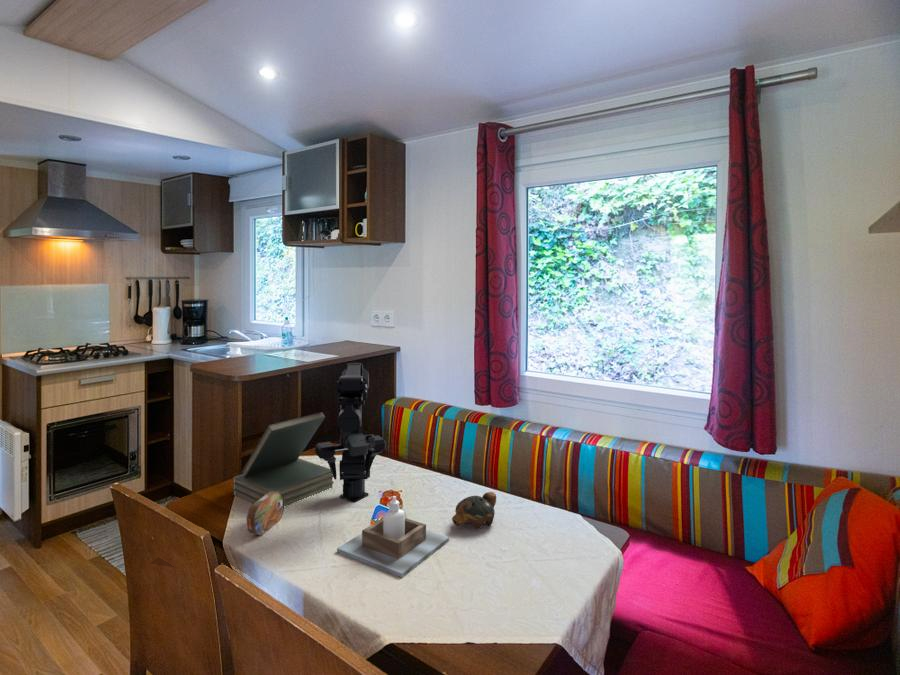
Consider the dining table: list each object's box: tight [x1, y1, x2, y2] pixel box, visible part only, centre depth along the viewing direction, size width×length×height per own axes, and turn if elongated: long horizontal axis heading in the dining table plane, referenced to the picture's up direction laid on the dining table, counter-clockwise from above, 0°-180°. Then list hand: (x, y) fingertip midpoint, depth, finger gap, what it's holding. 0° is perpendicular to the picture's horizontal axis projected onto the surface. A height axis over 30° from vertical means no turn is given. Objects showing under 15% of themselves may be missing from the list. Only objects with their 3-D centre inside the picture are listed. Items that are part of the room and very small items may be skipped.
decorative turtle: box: [451, 491, 497, 530], centre depth 143 cm, size 10×15×8 cm, turn 135°
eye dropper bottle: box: [383, 495, 406, 540], centre depth 130 cm, size 4×6×12 cm
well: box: [336, 517, 450, 578], centre depth 130 cm, size 20×20×5 cm
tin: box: [246, 491, 285, 536], centre depth 139 cm, size 15×3×8 cm, turn 168°
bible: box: [232, 411, 335, 507], centre depth 162 cm, size 23×20×25 cm
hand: (351, 476), depth 145 cm, fingers open, 9 cm apart
